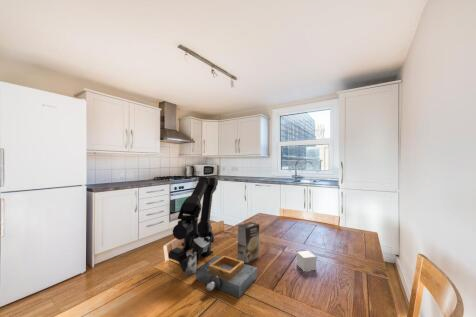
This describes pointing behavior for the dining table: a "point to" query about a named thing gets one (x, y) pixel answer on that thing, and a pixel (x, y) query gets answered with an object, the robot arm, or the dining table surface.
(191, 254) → the silver calibration weight
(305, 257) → the adhesive note
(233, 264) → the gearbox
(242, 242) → the coffee box
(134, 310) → the dining table surface
